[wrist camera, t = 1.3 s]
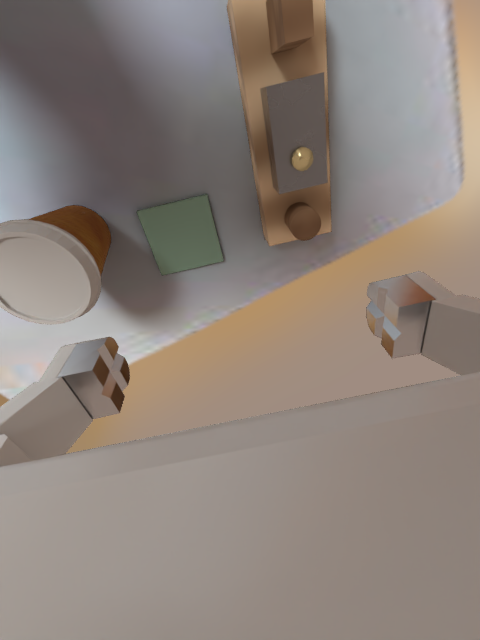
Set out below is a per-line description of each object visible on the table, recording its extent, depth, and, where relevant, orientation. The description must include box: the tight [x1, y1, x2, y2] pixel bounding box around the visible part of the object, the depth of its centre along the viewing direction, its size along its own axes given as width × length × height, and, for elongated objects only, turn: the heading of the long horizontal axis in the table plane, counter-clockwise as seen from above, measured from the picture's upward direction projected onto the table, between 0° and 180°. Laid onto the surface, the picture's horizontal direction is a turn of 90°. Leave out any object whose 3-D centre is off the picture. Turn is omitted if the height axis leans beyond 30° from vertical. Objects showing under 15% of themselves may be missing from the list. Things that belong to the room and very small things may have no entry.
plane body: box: [227, 0, 332, 246], centre depth 28 cm, size 21×7×9 cm, turn 11°
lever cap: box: [260, 72, 328, 194], centre depth 27 cm, size 8×4×4 cm, turn 11°
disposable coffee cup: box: [0, 205, 111, 325], centre depth 30 cm, size 10×10×12 cm
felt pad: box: [137, 194, 224, 276], centre depth 36 cm, size 8×8×1 cm
